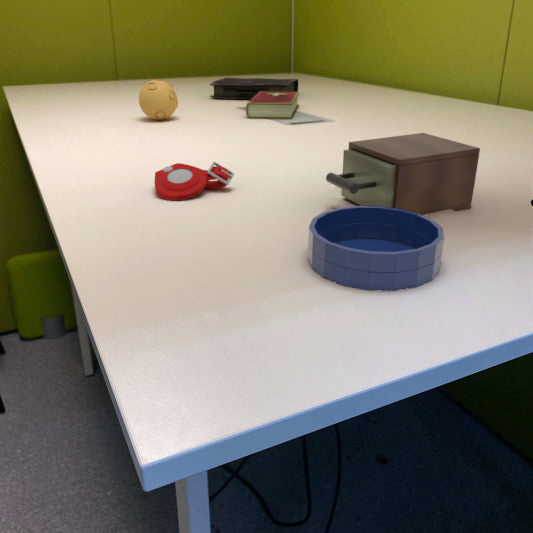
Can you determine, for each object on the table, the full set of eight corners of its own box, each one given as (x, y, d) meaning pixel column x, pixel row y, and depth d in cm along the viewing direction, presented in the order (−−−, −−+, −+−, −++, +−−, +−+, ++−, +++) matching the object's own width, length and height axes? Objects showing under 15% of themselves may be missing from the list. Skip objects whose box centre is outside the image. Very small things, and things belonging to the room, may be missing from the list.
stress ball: (137, 123, 138) (133, 81, 134) (144, 116, 147) (140, 77, 143) (177, 122, 138) (174, 81, 134) (181, 115, 147) (178, 76, 143)
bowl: (384, 232, 70) (387, 199, 68) (467, 277, 58) (474, 238, 56) (286, 253, 64) (286, 217, 62) (356, 307, 53) (359, 265, 51)
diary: (227, 91, 189) (226, 76, 187) (298, 93, 184) (298, 77, 182) (209, 99, 173) (208, 82, 171) (287, 101, 167) (287, 84, 165)
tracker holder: (169, 198, 80) (138, 168, 86) (175, 221, 83) (144, 191, 89) (238, 166, 84) (204, 140, 90) (241, 190, 88) (207, 163, 93)
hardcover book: (246, 118, 143) (245, 101, 141) (258, 105, 162) (258, 90, 160) (291, 119, 141) (292, 102, 140) (298, 105, 160) (299, 90, 158)
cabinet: (394, 223, 73) (400, 159, 69) (345, 199, 82) (348, 141, 79) (470, 208, 78) (480, 148, 74) (416, 186, 88) (423, 132, 84)
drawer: (358, 222, 71) (361, 171, 68) (316, 200, 79) (318, 153, 76) (456, 203, 77) (463, 155, 74) (408, 184, 86) (413, 140, 83)
